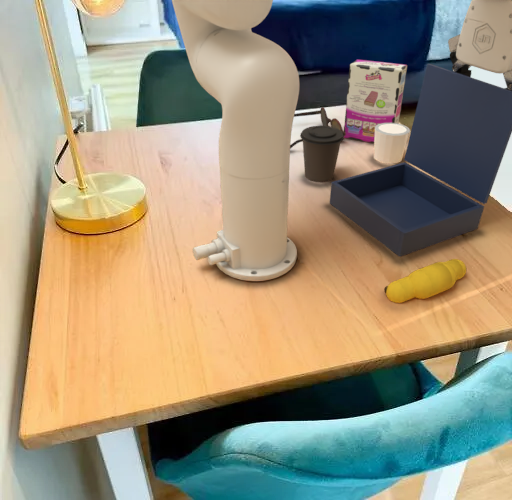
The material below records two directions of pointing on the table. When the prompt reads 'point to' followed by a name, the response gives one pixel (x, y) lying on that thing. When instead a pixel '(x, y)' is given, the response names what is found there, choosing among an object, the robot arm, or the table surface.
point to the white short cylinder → (390, 142)
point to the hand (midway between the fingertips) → (480, 104)
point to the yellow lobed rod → (426, 281)
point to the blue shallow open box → (405, 207)
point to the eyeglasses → (325, 122)
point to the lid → (460, 131)
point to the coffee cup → (321, 152)
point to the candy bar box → (373, 97)
